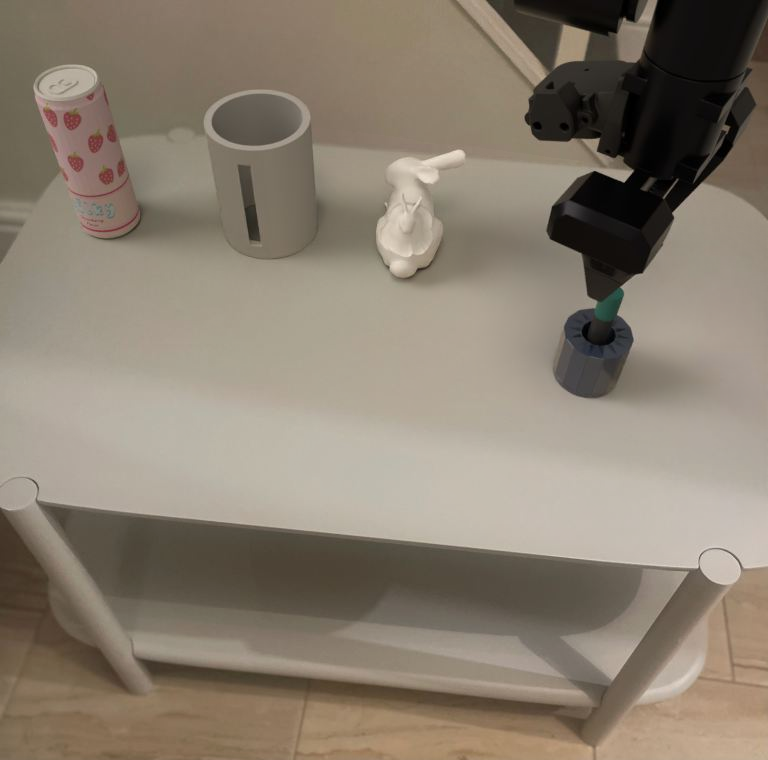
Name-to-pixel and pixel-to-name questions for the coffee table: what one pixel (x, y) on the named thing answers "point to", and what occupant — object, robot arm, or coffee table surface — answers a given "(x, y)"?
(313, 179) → the cup
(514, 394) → the coffee table surface
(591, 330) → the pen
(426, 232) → the rabbit figurine
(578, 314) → the pen cup
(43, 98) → the beverage can
